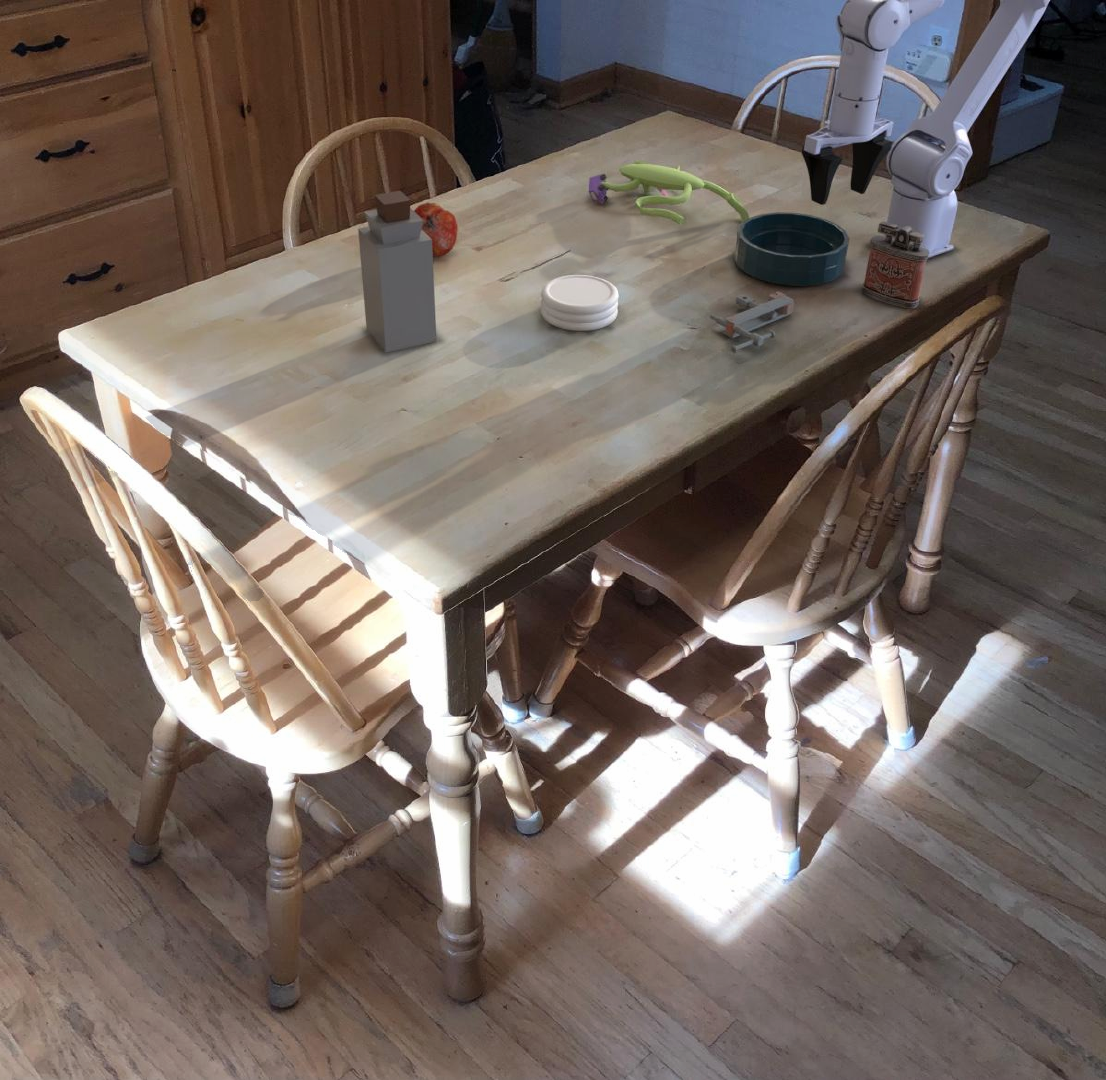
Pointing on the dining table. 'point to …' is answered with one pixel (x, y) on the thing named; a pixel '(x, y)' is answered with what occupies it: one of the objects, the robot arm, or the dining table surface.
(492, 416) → the dining table surface
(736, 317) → the clamp
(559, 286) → the coaster
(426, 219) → the pomegranate
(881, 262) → the lighter
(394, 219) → the perfume bottle
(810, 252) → the bowl
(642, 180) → the figurine
